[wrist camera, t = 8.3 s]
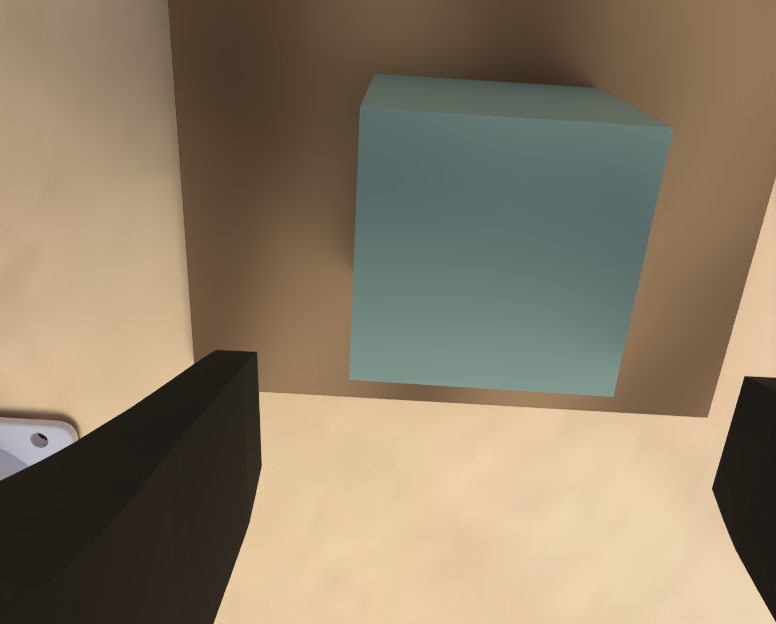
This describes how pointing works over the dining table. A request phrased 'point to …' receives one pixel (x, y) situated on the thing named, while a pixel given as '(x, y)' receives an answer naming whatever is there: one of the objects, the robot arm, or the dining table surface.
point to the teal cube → (499, 233)
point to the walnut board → (470, 62)
